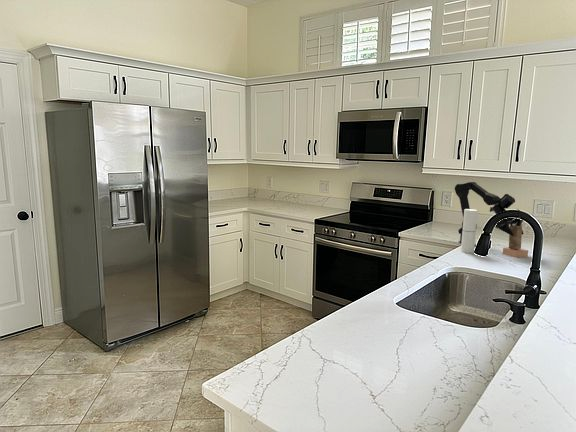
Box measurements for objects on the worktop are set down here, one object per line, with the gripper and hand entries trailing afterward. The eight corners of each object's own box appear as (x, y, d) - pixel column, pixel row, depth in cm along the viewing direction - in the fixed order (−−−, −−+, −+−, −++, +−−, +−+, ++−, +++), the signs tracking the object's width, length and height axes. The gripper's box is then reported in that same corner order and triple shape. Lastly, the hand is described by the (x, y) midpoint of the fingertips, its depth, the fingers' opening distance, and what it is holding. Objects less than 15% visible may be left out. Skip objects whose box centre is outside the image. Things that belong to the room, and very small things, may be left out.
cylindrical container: (460, 251, 239) (463, 210, 235) (461, 249, 245) (464, 208, 241) (473, 253, 235) (477, 211, 232) (474, 251, 242) (478, 209, 238)
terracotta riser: (502, 254, 236) (503, 247, 236) (514, 253, 239) (514, 246, 239) (515, 258, 228) (516, 251, 227) (527, 257, 231) (528, 250, 230)
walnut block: (508, 248, 234) (509, 225, 233) (513, 247, 236) (514, 225, 236) (516, 249, 230) (517, 226, 230) (520, 248, 232) (522, 226, 232)
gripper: (501, 205, 228) (519, 227, 221) (521, 204, 237) (538, 225, 230) (487, 217, 236) (503, 239, 229) (507, 215, 245) (523, 236, 238)
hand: (517, 234), depth 231 cm, fingers open, 9 cm apart
